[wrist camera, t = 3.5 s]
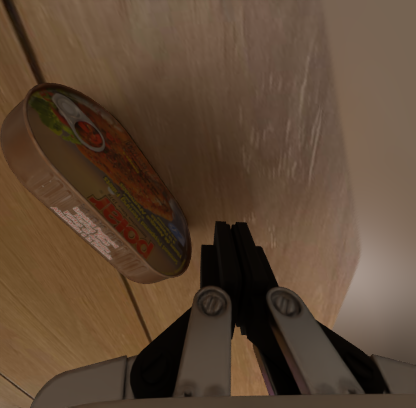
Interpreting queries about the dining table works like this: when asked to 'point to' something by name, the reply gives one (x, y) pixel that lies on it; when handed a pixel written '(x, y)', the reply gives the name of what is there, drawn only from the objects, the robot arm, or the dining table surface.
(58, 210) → the tin
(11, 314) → the dining table surface
